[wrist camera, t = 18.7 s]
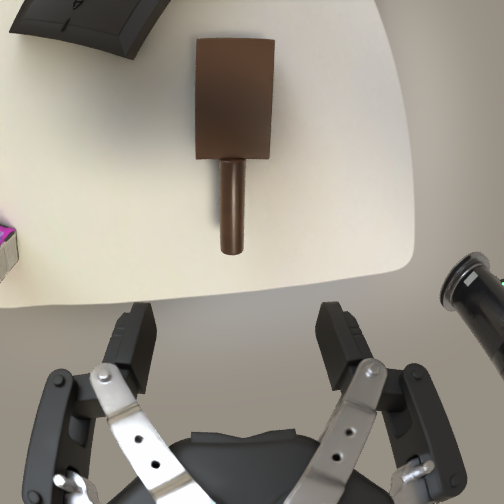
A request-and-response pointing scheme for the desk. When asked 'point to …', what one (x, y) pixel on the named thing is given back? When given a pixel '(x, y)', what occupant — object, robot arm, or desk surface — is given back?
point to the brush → (233, 119)
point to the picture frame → (91, 22)
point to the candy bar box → (7, 250)
